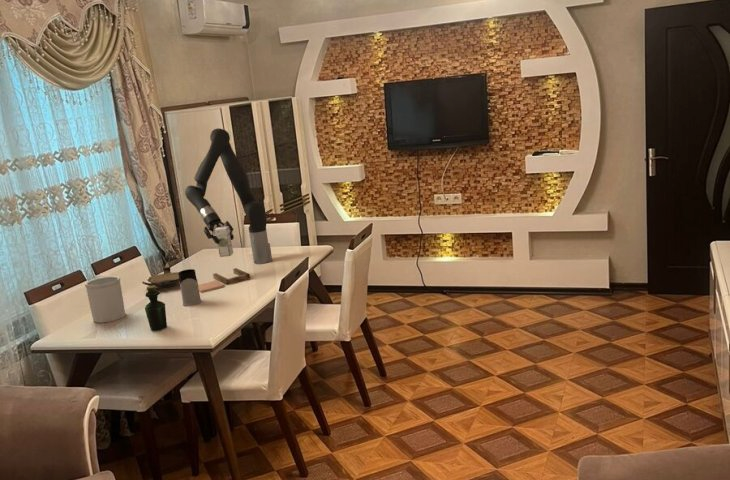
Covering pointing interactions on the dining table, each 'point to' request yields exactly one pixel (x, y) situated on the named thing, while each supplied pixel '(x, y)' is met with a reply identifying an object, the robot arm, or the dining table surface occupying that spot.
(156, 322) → the potion bottle
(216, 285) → the terracotta pad
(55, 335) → the dining table surface
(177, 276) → the oil lamp
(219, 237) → the syrup box
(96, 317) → the utensil holder
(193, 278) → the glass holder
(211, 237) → the robot arm
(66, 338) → the dining table surface
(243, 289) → the dining table surface
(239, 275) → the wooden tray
